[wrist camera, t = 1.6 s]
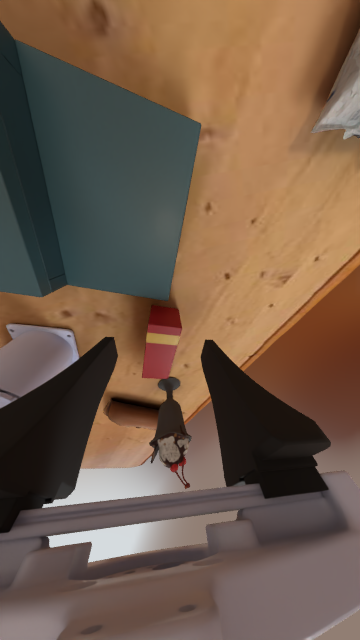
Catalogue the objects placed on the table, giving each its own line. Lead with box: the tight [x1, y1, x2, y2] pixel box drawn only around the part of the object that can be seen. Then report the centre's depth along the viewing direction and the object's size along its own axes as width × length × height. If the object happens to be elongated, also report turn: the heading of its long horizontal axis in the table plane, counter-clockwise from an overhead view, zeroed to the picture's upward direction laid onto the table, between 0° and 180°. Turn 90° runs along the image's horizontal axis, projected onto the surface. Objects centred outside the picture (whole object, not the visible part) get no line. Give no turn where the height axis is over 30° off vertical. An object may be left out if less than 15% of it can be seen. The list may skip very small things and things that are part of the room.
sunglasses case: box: [104, 399, 159, 430], centre depth 34 cm, size 18×7×7 cm, turn 59°
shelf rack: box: [0, 21, 201, 301], centre depth 11 cm, size 14×16×6 cm
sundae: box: [149, 378, 191, 489], centre depth 24 cm, size 7×7×15 cm
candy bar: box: [142, 305, 182, 379], centre depth 20 cm, size 10×4×5 cm, turn 168°
